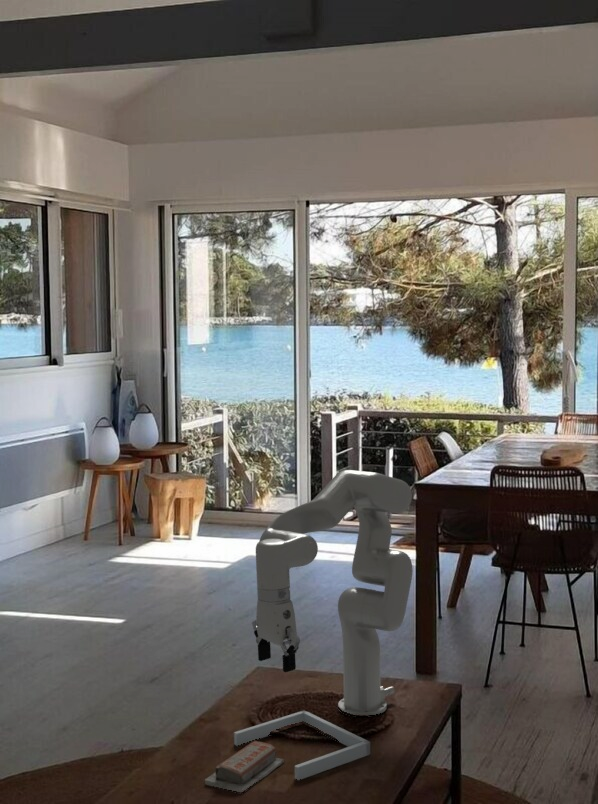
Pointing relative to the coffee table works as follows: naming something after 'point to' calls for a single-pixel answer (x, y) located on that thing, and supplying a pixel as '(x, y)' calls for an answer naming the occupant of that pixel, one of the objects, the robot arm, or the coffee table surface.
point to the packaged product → (245, 767)
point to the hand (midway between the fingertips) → (276, 664)
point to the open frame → (355, 743)
